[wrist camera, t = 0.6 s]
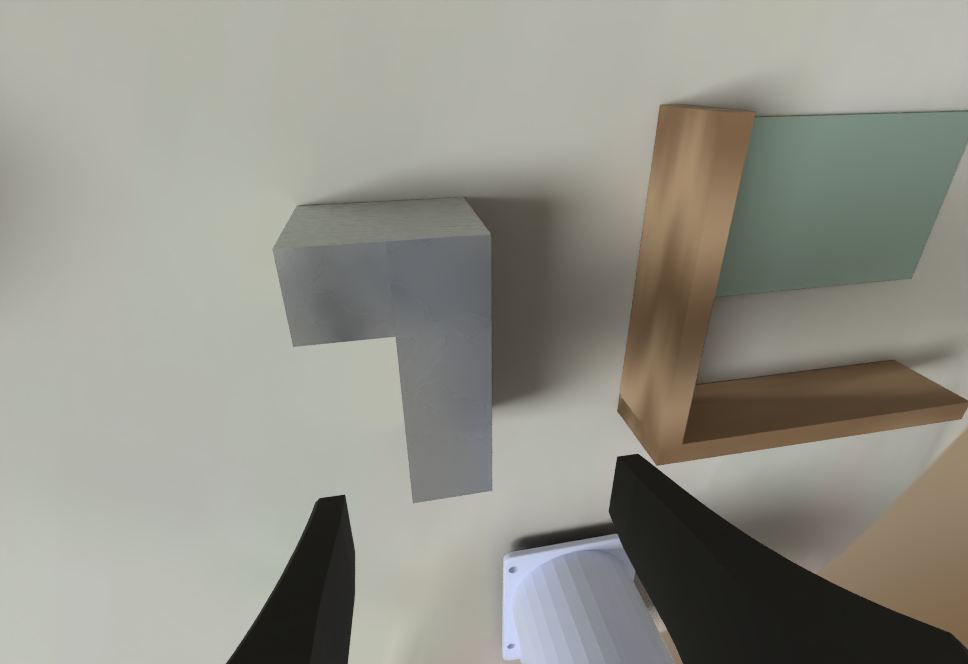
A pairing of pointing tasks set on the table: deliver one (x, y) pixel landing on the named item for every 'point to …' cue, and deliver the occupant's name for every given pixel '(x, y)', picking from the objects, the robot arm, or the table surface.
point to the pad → (838, 198)
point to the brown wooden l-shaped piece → (686, 313)
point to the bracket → (406, 318)
